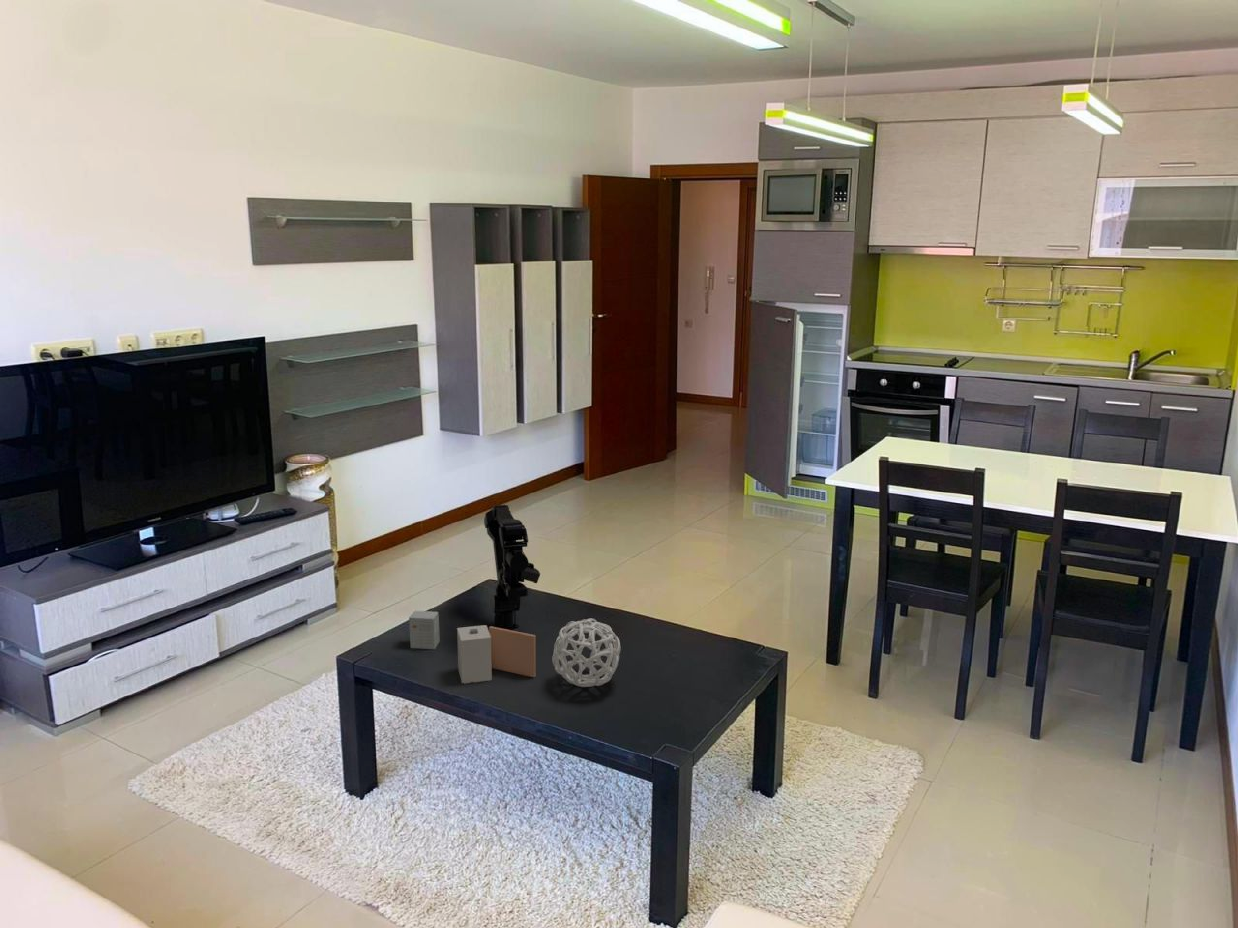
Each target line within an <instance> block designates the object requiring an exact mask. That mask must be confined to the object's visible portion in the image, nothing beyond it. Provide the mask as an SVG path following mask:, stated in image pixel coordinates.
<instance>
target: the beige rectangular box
mask: <svg viewBox="0 0 1238 928" xmlns="http://www.w3.org/2000/svg"><path fill="white" fill-rule="evenodd" d="M456 631H457V633H456V634H457V635H456V636H457V667H458V668H457V670H458V673H459V677H460V682H461V684H462V683H464V684H470V683H471V682H473V683H479V682H487V681H488V682H489V681H492V679H493V677H492V675H493V673H492V670H493V668H492V664H491V636H490V633H489V627H488V626H487V624H486V625H485V624H484V625H483V624H482V625H473V626H464V627H457V628H456ZM471 684H472V683H471Z"/></svg>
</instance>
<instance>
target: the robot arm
mask: <svg viewBox="0 0 1238 928" xmlns="http://www.w3.org/2000/svg"><path fill="white" fill-rule="evenodd" d="M483 522H484V523H483V524H484V528H485V529H486V534H487V535H488V537H489V538H490V539H491V540H492V545H493V552H494V562H495V570H496V571H495V572H496V579H497V585H495V586H496V587H495V589H494V591H493V596H492V598H491V603H490V604H491V610H492V612H493V614H494V618H493V619H494V622H493V623H494V624H492V627H497V628H502V629H507V630H512V631H513V630H514V629H517V628H519V627H520V626H519V624H517V622H516V621H517V618H516V617H517V615H516V611H517V612H518V611H520V609H521V600H522V598H523V597H528V595H529V594H528V593H529V589H528V588H527V586H526V585H525V584H524V582H525V581H528V582H532V583H534V584H537V583H538V581H539V578H540V577H541V573H540V571H539V570H538V569H537V568H536V567H535V566H534V565H535V564H534V563H533V562H529V559H528V557H527V556H526V554H525V552H524V549H523V548H526V547H527V548H528V543H529V537H528V532H527V531H528V530H527V528H526V525H524V524H523V522H522V521H521V520H519V519H515V518H514V517H513V515H512V513H511V511H510V507H509V505H506V504H498V505H494V506H492V508H491V509H490V510H489V511H487V512H485V514H484V519H483Z"/></svg>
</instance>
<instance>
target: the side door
mask: <svg viewBox="0 0 1238 928" xmlns="http://www.w3.org/2000/svg"><path fill="white" fill-rule="evenodd" d="M488 631H489V633H490V636H491V664H492V669H494V670H499V671H503V672H507V673H512V674H517V675H521V676H527V677H530V678H535V677H536V676H537V675H536V673H537V671H536V665H537V664H536V659H537V658H536V655H537V654H536V652H537V651H536V643H537V642H536V640H537V639H536V634H531V633H527V632H523V631H522V632H519V631H517V630H513V629H512V630H507V629H502V628H497V627H492V626H491V625H490V626H489V627H488Z"/></svg>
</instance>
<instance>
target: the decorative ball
mask: <svg viewBox="0 0 1238 928" xmlns="http://www.w3.org/2000/svg"><path fill="white" fill-rule="evenodd" d="M569 630H570V631H569ZM586 633H587V634H588V638H586V636H585V634H586ZM576 635H577V636H578V639H577V640H575V639H574V638H573V637H575V636H576ZM596 635H598V636H599V637H601V639H599V640H595V636H596ZM569 644H570V646H571V647H572V649H567V648H568V645H569ZM602 644H604V646H605V648H603V649H602V650H601V646H602ZM577 646H579V647H577ZM585 647H587V649H589V650H590V651H591V652H590V656H589V657H588V658H587V657H585V656H584V655H583V654H582V652H583V650H584V648H585ZM621 649H622V648H621V643H620V639H619V637H618V636H617V635H616V633H615V632H614V631H613V628H612V627H611V626H610V625H608V624H606V623H602V622H599V621H597V620H596V619H595V618H591V617H590V618H587V619H581V620H578V621H574V620H572V621H569V622H567V623H566V625H564V626H563V627H561V628H560V630H559V633H558V637H557V638H556V641H555V642H554V645H553V655H552V657H551V661H552V662H551V663H552V664H553V666H554V670H555V672H556V673H557V674H559V675H561V676H562V678H564V680H566V681H567V682H568V683H570V684H572V685H574V686H577V687H580V688H587V687H588V688H590V687H592V688H593V687H594V686H595V687H600V686H602V685H604V684H606V683H608V682H610V681H611V679H612V677H613V675H614V674H615V672H616V670H617V668H618V665H619V660H620V653H621ZM567 656H570V657H571V658H572V660H567V658H566V657H567ZM603 656H605V657H606V661H605V662H604V661H602V657H603ZM575 665H577V666H578V671H577V672H576V670H574V669H573V666H575ZM595 666H600V667H601V668H599V669H598V670H597V668H596V667H595ZM586 668H588V669H589V674H583V672H584V670H585V669H586ZM600 677H601V678H600Z"/></svg>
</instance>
